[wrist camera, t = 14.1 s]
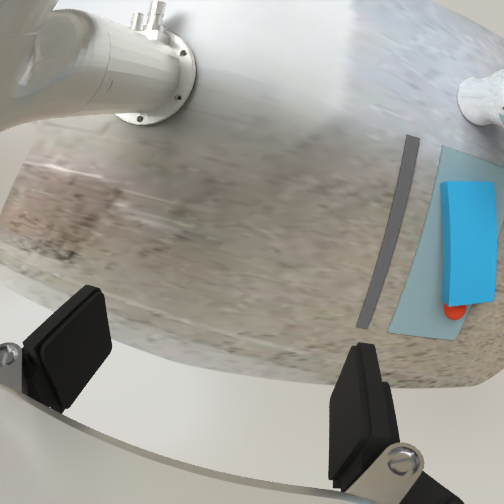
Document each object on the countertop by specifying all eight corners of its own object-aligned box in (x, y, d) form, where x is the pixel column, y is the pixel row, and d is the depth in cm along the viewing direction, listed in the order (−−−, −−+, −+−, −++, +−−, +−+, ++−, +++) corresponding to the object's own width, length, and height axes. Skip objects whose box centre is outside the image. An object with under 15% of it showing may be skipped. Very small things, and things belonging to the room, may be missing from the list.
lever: (427, 185, 37) (428, 318, 39) (447, 181, 30) (445, 336, 32) (469, 185, 36) (469, 313, 37) (494, 181, 29) (490, 329, 31)
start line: (406, 134, 32) (407, 134, 31) (418, 138, 31) (419, 138, 31) (355, 326, 42) (356, 327, 42) (366, 327, 42) (366, 328, 42)
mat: (442, 145, 31) (443, 145, 31) (513, 172, 30) (515, 173, 29) (387, 330, 42) (387, 332, 41) (454, 338, 40) (454, 340, 40)
